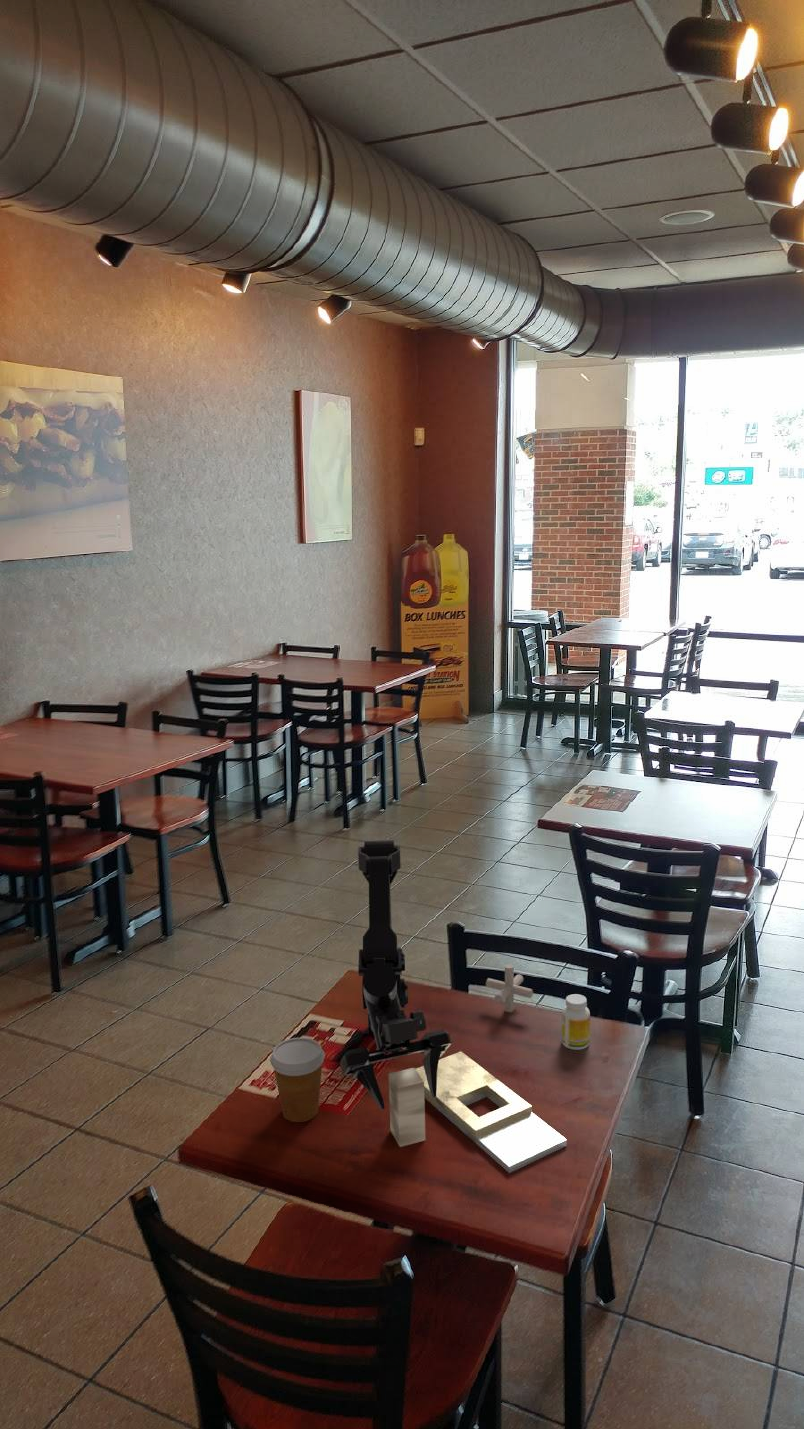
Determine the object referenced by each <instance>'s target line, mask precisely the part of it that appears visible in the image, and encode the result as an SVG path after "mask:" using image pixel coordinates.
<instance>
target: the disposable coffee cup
mask: <svg viewBox="0 0 804 1429" xmlns="http://www.w3.org/2000/svg"><path fill="white" fill-rule="evenodd" d="M325 1056H326V1054H325V1051H324V1050H323V1049H322V1045H321V1044H320V1043H319V1041H317V1040H316V1039H312V1038H308V1037H293V1038H287V1039H285V1040H283V1041H280V1042H279V1043H278V1044H276V1045H275V1046H274V1048H273V1050H272V1053H271V1055H270V1057H269V1058H270V1059H269V1061H270V1065H271V1066H272V1068H273V1072H274V1077H275V1082H276V1087H277V1091H278V1092H277V1093H278V1096H279V1097H278V1098H279V1102H280V1107H281V1111H282V1116H283V1117H284V1119H286V1121H287V1120H288V1121H289V1122H294V1123H302V1122H303V1123H304V1122H308V1121H310V1120H312V1119H314V1118H315V1117H316V1116H317V1115H318V1113H319V1105H320V1093H321V1083H322V1082H321V1081H322V1071H323V1064H324V1060H325V1058H326V1057H325Z"/></svg>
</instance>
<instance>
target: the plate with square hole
mask: <svg viewBox="0 0 804 1429" xmlns="http://www.w3.org/2000/svg"><path fill="white" fill-rule="evenodd" d="M415 1069H416V1071H417V1072H418V1074H419V1075H420V1077H421V1078H422V1080H423V1081H424V1100H426V1101H427V1102H428V1103H430V1104H431V1105H432V1106H433V1107H435V1109H436V1110H437V1111H439V1112H440V1113H441V1114H442V1115H443V1116H444V1117H445V1118H447V1119H448V1120H449V1121H450V1122H451V1123H452V1124H454V1126H455V1127H457V1128H458V1130H460V1131H461V1132H462V1133H464V1135H465V1136H467V1137H468V1138H469V1139H470V1140H472V1142H474V1143H475V1144H476V1145H477V1146H478V1148H480V1149H481V1150H483V1151H484V1152H485V1153H486V1154H487V1155H488V1156H489V1157H490V1158H492V1159H493V1160H494V1161H495V1162H496V1163H497V1164H498V1165H500V1167H502V1168H503V1169H504V1170H505V1171H506V1172H507V1173H508V1174H511V1173H512V1172H513V1173H514V1172H515V1171H518V1170H519V1169H520V1168H521V1169H522V1168H523V1167H525V1166H527V1165H529V1164H531V1163H534V1162H536V1161H537V1160H540V1159H542V1158H545V1157H546V1156H548V1155H550V1154H552V1153H555V1152H556V1151H559V1150H561V1149H563V1148H565V1147H567V1142H568V1141H567V1140H568V1139H566V1138H565V1137H564V1136H563V1135H561V1134H560V1133H559V1132H558V1131H556V1130H555V1129H554V1128H553V1127H551V1126H550V1125H548V1124H547V1123H546V1122H545V1121H544V1120H542V1119H541V1118H540V1117H539V1116H537V1115H536V1114H535V1113H533V1110H532V1109H533V1107H532V1105H531V1104H530V1103H528V1102H527V1101H526V1100H524V1099H523V1098H522V1097H520V1096H519V1095H518V1094H517V1093H515V1092H514V1091H513V1090H512V1089H510V1088H509V1087H508V1086H506V1085H505V1084H504V1083H503V1082H501V1081H500V1080H499V1079H497V1078H496V1077H495V1076H493V1075H492V1074H491V1073H490V1072H488V1071H487V1070H486V1069H485V1068H483V1067H482V1066H481V1065H479V1064H478V1063H477V1062H475V1061H474V1060H473V1059H471V1058H470V1057H469V1056H468V1055H466V1054H465V1053H464V1052H463V1051H459V1052H456V1053H453V1054H451V1055H448V1056H445V1057H443V1058H439V1062H438V1069H437V1091H436V1097H435V1098H433V1097H432V1095H431V1092H430V1089H429V1085H428V1081H427V1077H426V1073H425V1069H424V1065H422V1066H420V1067H419V1066H418V1067H417V1068H415ZM485 1098H487V1099H489V1100H490V1101H491V1102H492V1103H494V1105H496V1106H498V1109H496V1110H493V1111H490V1112H487V1113H486V1114H483V1115H481V1116H478V1115H477V1114H475V1113H474V1112H473V1111H472V1110H471V1109H470V1108H468V1107H467V1106H469V1105H471V1104H473V1103H476V1102H479V1101H480V1100H483V1099H485Z"/></svg>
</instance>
